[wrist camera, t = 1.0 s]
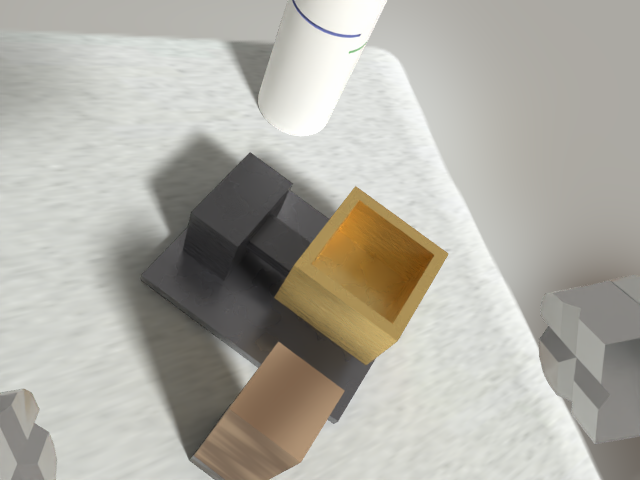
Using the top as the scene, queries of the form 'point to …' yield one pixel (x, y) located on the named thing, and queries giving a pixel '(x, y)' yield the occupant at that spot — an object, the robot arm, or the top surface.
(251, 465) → the rail post
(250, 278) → the cup bracket
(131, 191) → the top surface
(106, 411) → the top surface
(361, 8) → the cylindrical container
